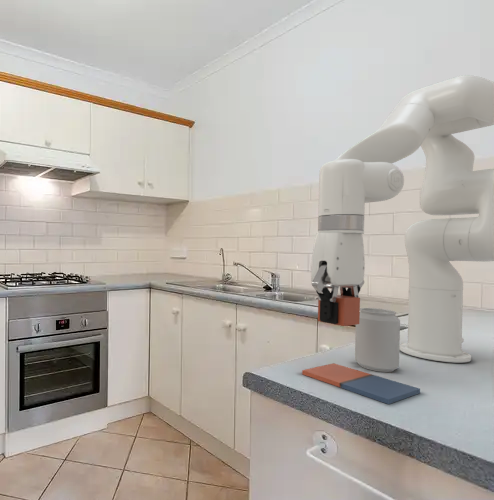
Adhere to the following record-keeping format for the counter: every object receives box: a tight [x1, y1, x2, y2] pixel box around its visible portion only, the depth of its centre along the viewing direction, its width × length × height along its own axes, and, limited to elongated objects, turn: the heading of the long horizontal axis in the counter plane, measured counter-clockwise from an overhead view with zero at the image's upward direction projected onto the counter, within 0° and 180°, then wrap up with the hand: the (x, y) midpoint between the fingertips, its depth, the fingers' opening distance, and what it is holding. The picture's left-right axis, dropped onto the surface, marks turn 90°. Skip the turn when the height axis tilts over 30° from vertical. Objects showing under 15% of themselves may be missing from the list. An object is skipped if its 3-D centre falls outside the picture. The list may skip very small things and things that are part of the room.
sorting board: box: [301, 362, 421, 405], centre depth 66 cm, size 10×15×1 cm, turn 28°
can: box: [354, 307, 401, 373], centre depth 75 cm, size 8×8×12 cm
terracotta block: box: [317, 294, 361, 327], centre depth 69 cm, size 5×5×5 cm
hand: (338, 320), depth 69 cm, fingers closed on terracotta block, 5 cm apart
